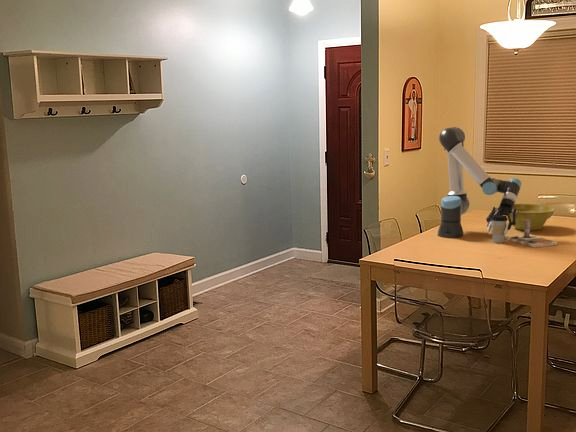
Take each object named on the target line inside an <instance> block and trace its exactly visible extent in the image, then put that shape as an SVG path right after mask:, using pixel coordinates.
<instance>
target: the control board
mask: <svg viewBox="0 0 576 432" xmlns="http://www.w3.org/2000/svg"><path fill="white" fill-rule="evenodd" d="M523 231H524V232H523V234H524V235H516V236H509V237H507V241H511V242H513V241H514V243H518V244H520V243H521V245H524V246H528V247H532V248H541V247H549V246H555V245H558V241H556V240H551V239H547V238H543V237H539V236H536V235H532V234H531V231H530V220H525V227H524V230H523Z"/></svg>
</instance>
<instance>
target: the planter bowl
mask: <svg viewBox="0 0 576 432" xmlns="http://www.w3.org/2000/svg"><path fill="white" fill-rule="evenodd" d="M513 209H516V210H517V214H516V225H512V227H514V228H515V229H516V230H520V231H524V227H525V220H530V232H531V231H538V230H539V229H542V227H544V225H545V223H546V222H547V220H548V219H550V218H552V216H553V215H554V212H555V211H556V210H557V209H556V208H555V207H553V206H550V205H544V204H537V203H536V204H534V203H514V207H513ZM510 218H511V222H513V212H511V213H510Z"/></svg>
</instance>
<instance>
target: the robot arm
mask: <svg viewBox="0 0 576 432" xmlns="http://www.w3.org/2000/svg"><path fill="white" fill-rule="evenodd" d="M438 139H439V140H438V141H439V143H440V145H441V146H442V147H443V150H444V151H445V152H446V155H447V169H448V171H447V173H448V183H449V184H448V185H449V191H448V193H447V196H444V197H442V199H441V203H440V225H439V227H438V230H437V236H439V237H440V238H452V239H454V238H461V237H463V236H464V229H463V226H462V220H461V218H462V215H463V214H465V213H466V212H467V211H468V209H469V208H470V200H469V198H468V194H467V193H468V192H467V191H465V186H464V170H463V169H465V171H466V172H467V173H468V174H469V175H470V176H471V177H472V179H473V180H474V181H475V182H476V183H477V184H478V185H479V187H481V190H482V192H483V194H484V195H487V196H491V195H495V194H496V193H500V194H501V193H502V194H503V195H502V199H501V201H500V203H499V206H498V207H495V206H494V207H492V210H491V212H490V213H489V214H488V215H487V216H486V219H485V220H486V222H487V225H486V226H487V229H486V231H487V232H486V233H487V234H490V232H491V231H492V226H491V224H492V222H491V217H492V216H493V215H504V216H507V218H508V220H507V221H508V222H506V228H505V231H504V233H505V236H507V235H508V232H509V230H511V228H512V227H513V225H516V214H517V210H516V209H513V207H514V204H516V201H517V198H518V195H519V193H520V191H521V186H522V181H521V180H520V179H518V178H516V177H511V178H509V180H502V179H497V178H495V177H491V176H490V175H489V174H488V173H487V171H485V169H484V168H482V166H481V165H480V164H479V163H478V162H477V160H476V159H475V158H474V157H473V156H472V155H471V154H470V153H469V152H468V151H467V149H466V148H465V145H464V142H465V140H466V134H465V132H464V130H463V129H461V128H459V127H456V126H455V127H448V128H447V127H446V128H444V129H442V130H441V131H440V133H439V136H438ZM511 212H513V222H511V218H510V213H511Z"/></svg>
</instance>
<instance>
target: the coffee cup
mask: <svg viewBox="0 0 576 432" xmlns="http://www.w3.org/2000/svg"><path fill="white" fill-rule="evenodd" d="M507 221H508V217H507V216H506V215H495V214H494V215H493V216H492V217H491V222H492V224H491V226H492V227H491V234H492V242H493V243H497V244H502V243H504V241H505V236H506V235H505V233H504V231H505V228H506V226H507V223H508V222H507Z"/></svg>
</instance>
